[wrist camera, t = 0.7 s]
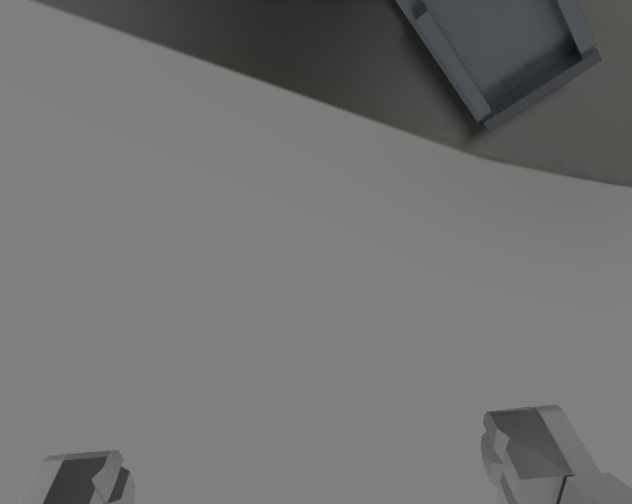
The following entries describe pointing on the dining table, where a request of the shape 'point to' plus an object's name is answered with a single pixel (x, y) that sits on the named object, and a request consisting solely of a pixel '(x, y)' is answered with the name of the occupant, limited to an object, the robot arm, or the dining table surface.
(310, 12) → the dining table surface
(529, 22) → the tray
